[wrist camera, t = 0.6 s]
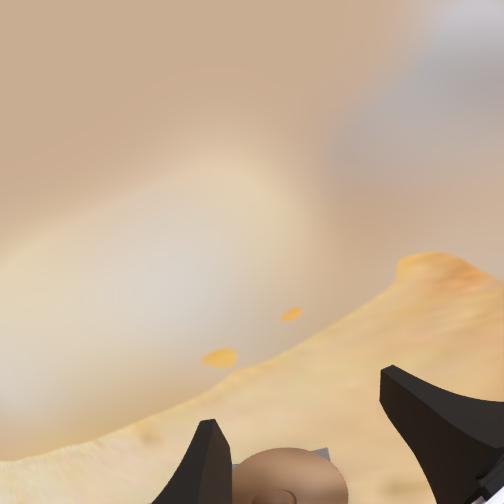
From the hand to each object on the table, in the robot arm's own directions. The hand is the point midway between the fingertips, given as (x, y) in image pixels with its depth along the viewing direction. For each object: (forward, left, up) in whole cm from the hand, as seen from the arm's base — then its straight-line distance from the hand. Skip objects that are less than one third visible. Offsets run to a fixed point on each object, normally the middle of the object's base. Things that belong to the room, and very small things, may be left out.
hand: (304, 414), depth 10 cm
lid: (-4, +5, -17) cm, 18 cm away
